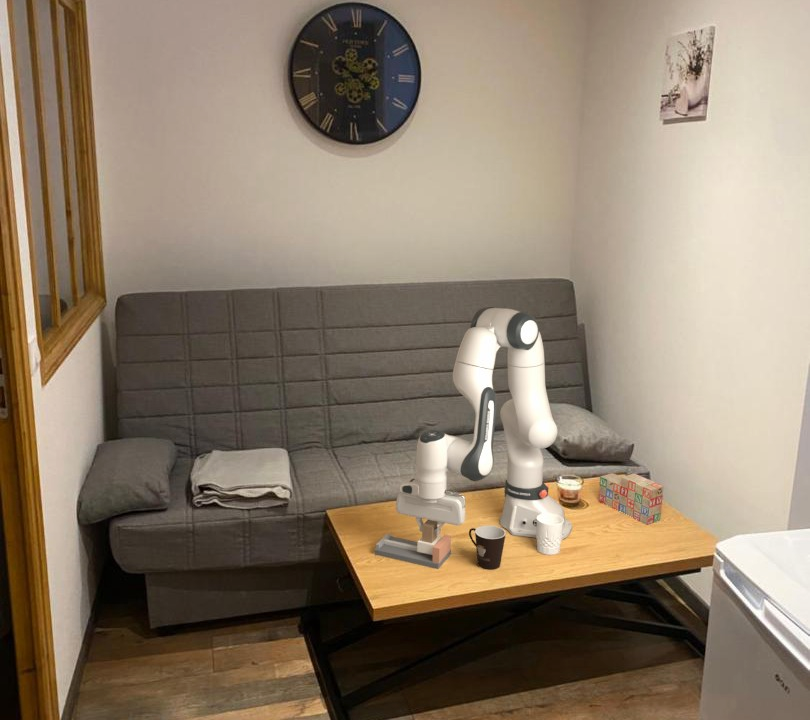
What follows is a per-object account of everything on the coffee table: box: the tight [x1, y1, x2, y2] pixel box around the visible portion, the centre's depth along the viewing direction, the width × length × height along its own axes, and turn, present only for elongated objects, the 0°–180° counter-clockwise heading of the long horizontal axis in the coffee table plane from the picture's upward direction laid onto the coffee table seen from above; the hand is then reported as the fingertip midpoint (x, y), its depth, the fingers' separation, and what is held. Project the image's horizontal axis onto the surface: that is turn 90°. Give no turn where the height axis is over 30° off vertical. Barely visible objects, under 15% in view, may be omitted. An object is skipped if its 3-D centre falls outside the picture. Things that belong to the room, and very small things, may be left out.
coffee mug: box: [468, 524, 507, 571], centre depth 232 cm, size 12×9×10 cm
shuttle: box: [417, 519, 443, 555], centre depth 234 cm, size 5×6×8 cm
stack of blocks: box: [598, 472, 665, 526], centre depth 268 cm, size 21×6×12 cm, turn 33°
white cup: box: [536, 513, 564, 556], centre depth 240 cm, size 8×8×10 cm
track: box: [373, 533, 452, 570], centre depth 237 cm, size 20×10×6 cm, turn 66°
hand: (429, 532), depth 233 cm, fingers closed on shuttle, 3 cm apart
